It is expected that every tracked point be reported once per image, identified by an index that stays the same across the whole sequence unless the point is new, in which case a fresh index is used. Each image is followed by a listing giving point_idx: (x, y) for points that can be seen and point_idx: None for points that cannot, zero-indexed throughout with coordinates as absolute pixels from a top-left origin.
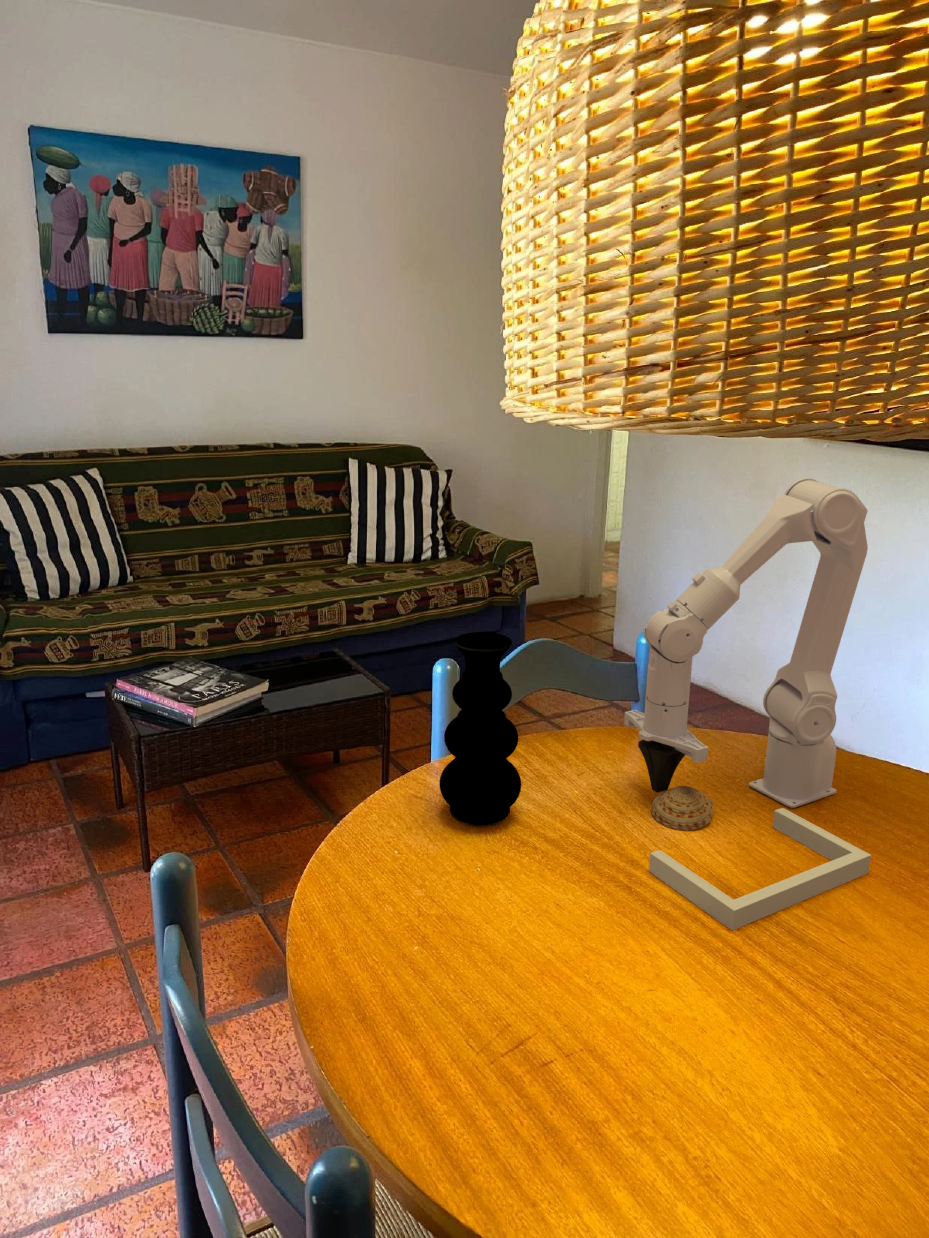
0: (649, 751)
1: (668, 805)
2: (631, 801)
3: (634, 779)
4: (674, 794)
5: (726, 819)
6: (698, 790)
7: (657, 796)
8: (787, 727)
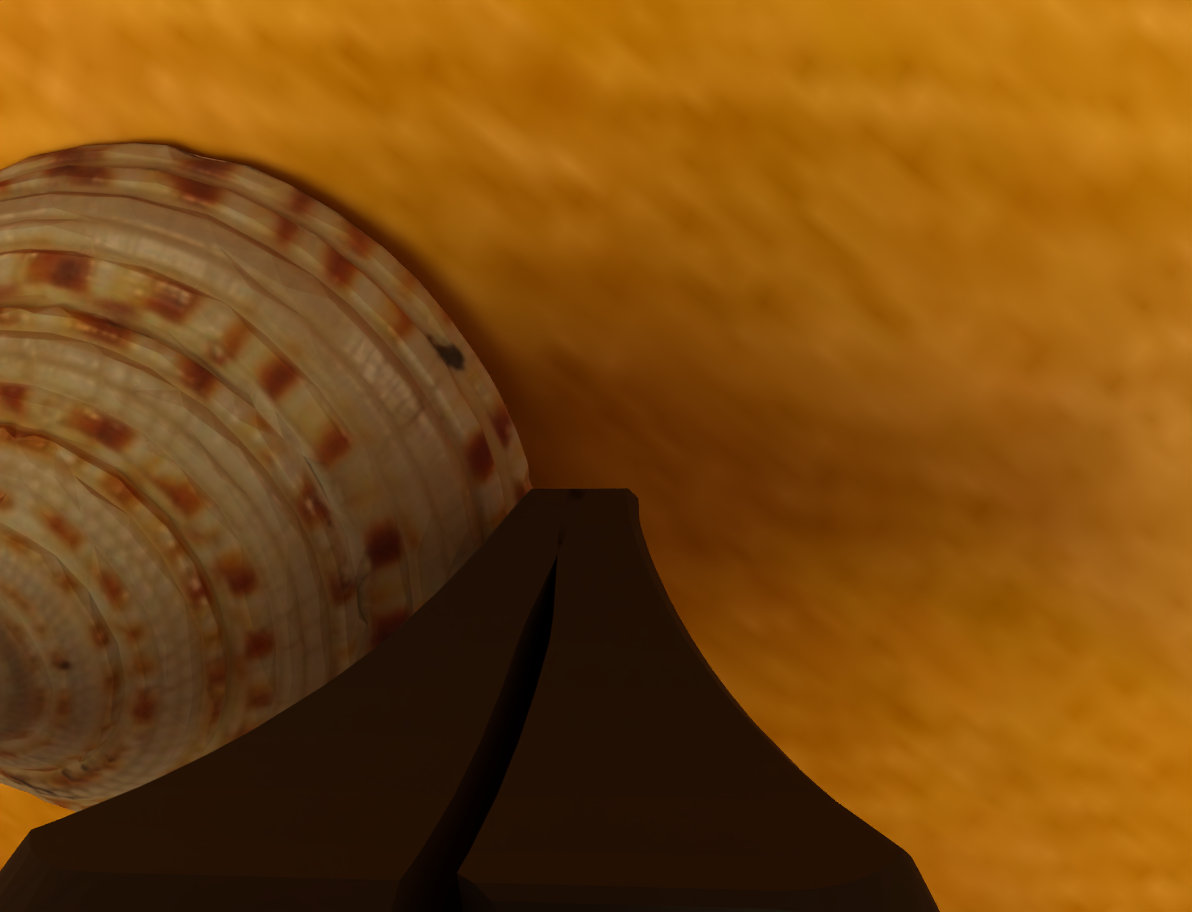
0: (389, 860)
1: (19, 333)
2: (728, 196)
3: (1139, 574)
4: (9, 504)
5: None
6: None
7: (398, 414)
8: None
